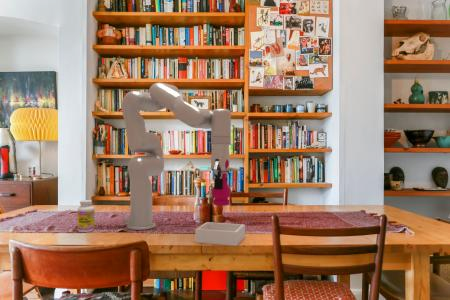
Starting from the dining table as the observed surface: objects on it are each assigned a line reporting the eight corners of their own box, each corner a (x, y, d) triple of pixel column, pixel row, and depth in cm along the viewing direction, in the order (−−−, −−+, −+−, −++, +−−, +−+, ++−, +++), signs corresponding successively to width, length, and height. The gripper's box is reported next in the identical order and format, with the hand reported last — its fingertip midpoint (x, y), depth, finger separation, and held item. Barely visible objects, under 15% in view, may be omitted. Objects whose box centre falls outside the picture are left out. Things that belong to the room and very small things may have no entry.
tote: (195, 242, 136) (195, 229, 136) (206, 234, 148) (206, 222, 148) (236, 246, 131) (236, 232, 131) (244, 237, 144) (244, 224, 144)
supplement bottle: (76, 233, 150) (76, 202, 149) (79, 229, 156) (79, 199, 156) (93, 232, 151) (93, 201, 151) (95, 228, 157) (95, 199, 157)
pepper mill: (228, 206, 135) (228, 152, 135) (209, 205, 137) (209, 152, 136) (232, 203, 142) (232, 152, 142) (214, 202, 144) (214, 152, 143)
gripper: (218, 141, 148) (218, 185, 149) (204, 141, 132) (204, 190, 132) (236, 141, 146) (236, 186, 146) (224, 141, 130) (224, 191, 130)
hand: (221, 187), depth 139 cm, fingers closed on pepper mill, 5 cm apart
